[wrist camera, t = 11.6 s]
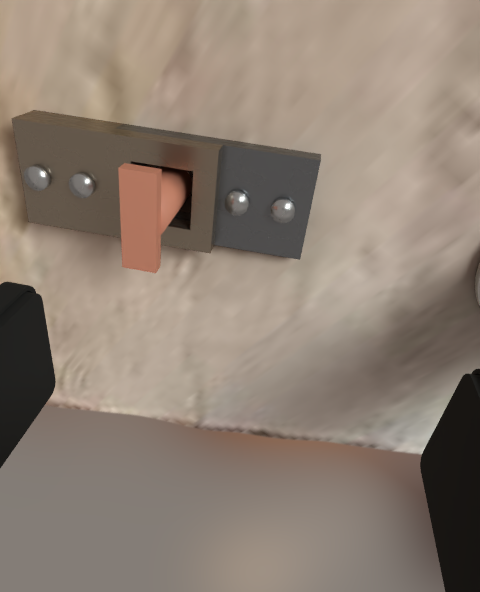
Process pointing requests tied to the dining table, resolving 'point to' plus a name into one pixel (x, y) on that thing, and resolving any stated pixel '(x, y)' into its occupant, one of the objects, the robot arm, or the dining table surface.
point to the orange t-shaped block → (148, 211)
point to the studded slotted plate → (175, 154)
